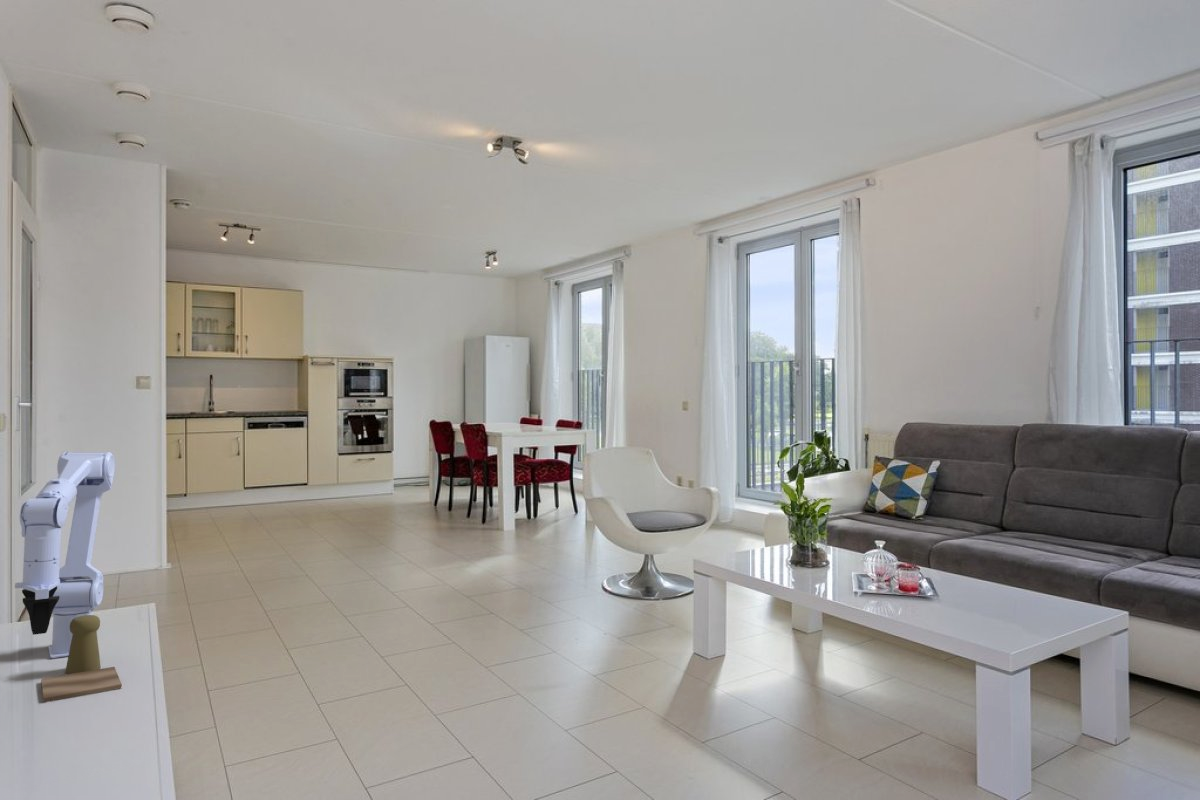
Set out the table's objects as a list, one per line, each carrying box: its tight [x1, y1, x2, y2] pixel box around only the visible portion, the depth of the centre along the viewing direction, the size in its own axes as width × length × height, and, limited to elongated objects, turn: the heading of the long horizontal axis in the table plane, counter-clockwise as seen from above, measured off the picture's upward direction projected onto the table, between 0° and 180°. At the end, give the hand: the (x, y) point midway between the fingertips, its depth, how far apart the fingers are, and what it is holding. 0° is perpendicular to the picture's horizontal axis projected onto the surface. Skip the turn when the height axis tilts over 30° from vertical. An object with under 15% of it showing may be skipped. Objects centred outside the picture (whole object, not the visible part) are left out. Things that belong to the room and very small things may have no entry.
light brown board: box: [40, 666, 123, 703], centre depth 142 cm, size 12×12×1 cm
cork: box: [64, 614, 102, 675], centre depth 151 cm, size 6×6×11 cm
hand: (38, 628), depth 144 cm, fingers open, 7 cm apart
